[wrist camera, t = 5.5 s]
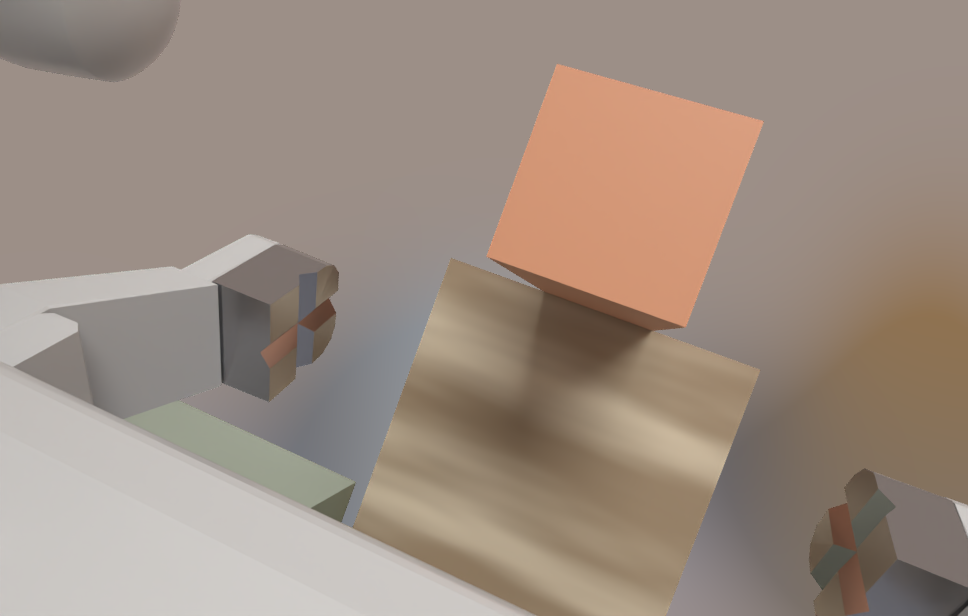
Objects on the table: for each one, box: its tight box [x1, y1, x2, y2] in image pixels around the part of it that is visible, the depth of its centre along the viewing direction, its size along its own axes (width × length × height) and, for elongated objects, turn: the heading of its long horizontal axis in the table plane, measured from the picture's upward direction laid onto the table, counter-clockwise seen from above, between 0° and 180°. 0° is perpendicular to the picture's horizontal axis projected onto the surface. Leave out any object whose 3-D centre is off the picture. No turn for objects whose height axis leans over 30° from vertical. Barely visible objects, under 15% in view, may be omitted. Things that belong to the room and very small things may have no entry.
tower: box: [353, 258, 760, 616], centre depth 27 cm, size 16×10×26 cm, turn 167°
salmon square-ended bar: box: [487, 64, 764, 331], centre depth 23 cm, size 26×4×4 cm, turn 167°
